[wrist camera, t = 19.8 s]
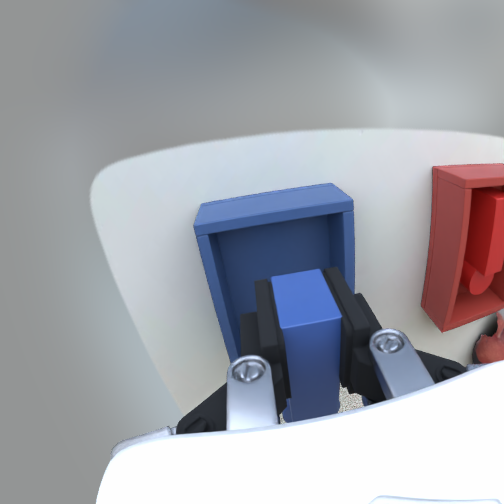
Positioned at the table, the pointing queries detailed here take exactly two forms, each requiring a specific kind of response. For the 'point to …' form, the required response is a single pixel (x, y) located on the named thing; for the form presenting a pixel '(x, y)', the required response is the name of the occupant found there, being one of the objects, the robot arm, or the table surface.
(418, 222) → the table surface
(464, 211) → the red bin
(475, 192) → the red block
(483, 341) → the stuffed fox
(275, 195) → the blue bin
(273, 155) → the table surface
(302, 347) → the blue block
